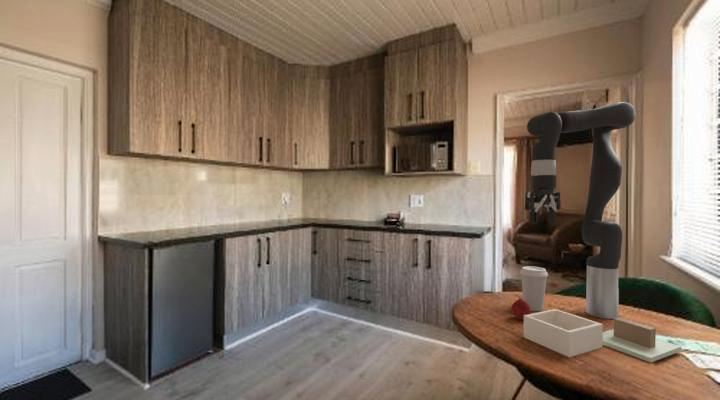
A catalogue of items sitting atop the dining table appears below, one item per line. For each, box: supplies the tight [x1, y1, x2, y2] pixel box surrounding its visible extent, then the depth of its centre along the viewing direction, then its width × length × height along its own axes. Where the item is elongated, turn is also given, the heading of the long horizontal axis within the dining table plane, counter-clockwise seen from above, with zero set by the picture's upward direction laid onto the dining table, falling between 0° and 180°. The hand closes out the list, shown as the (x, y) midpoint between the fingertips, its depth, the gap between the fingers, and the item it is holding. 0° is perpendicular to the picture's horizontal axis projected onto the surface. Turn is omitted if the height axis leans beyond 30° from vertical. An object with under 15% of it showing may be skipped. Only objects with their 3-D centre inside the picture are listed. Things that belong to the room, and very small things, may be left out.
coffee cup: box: [519, 265, 549, 312], centre depth 130 cm, size 10×10×15 cm
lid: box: [602, 316, 682, 363], centre depth 97 cm, size 15×15×7 cm
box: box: [523, 308, 604, 358], centre depth 99 cm, size 14×14×7 cm
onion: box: [511, 296, 532, 321], centre depth 118 cm, size 6×6×8 cm
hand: (542, 223), depth 116 cm, fingers open, 8 cm apart
